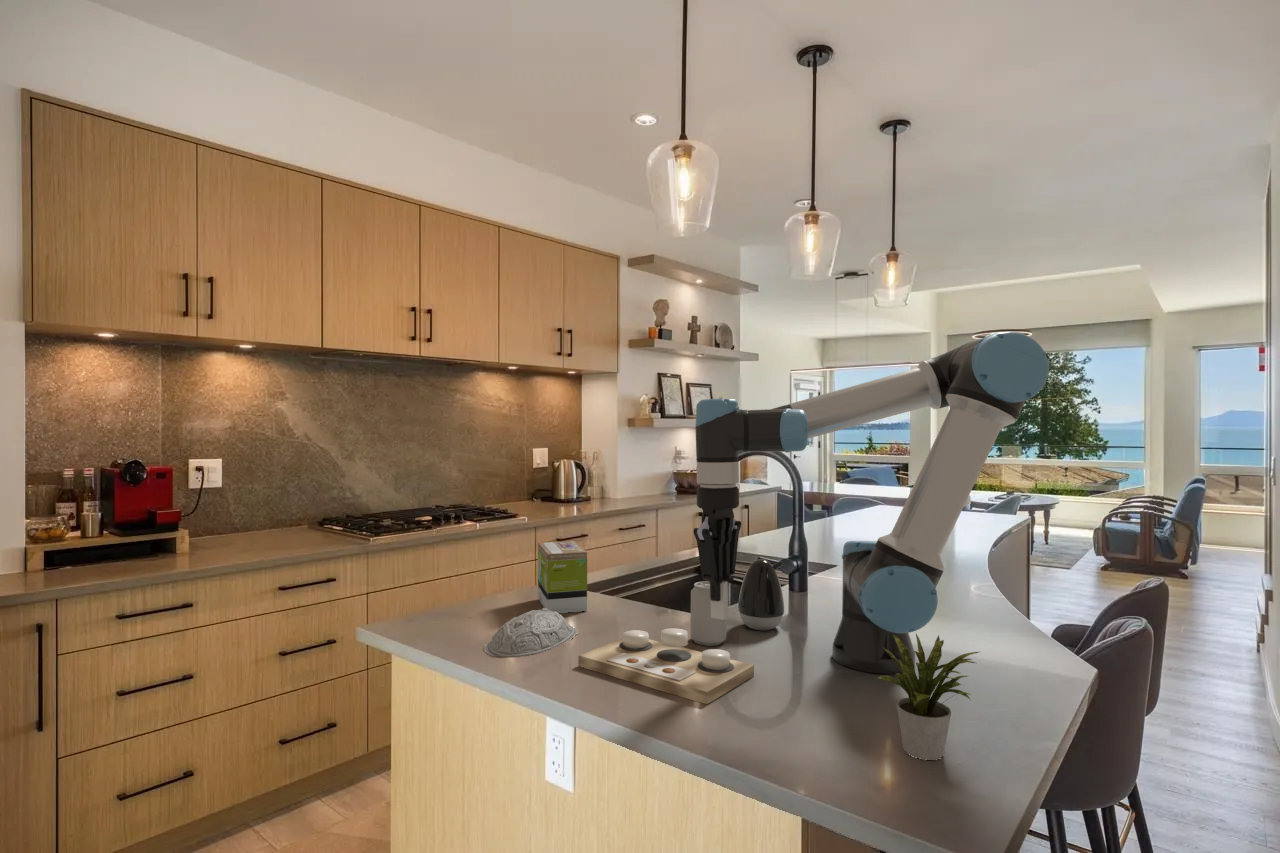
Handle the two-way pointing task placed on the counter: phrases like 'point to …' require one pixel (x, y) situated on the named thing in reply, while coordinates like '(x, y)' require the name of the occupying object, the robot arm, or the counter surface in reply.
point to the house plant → (925, 699)
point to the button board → (666, 669)
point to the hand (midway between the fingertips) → (719, 617)
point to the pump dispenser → (761, 596)
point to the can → (705, 617)
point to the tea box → (562, 576)
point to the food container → (530, 634)
